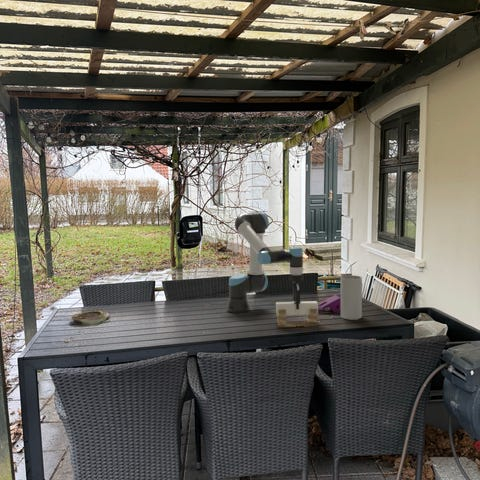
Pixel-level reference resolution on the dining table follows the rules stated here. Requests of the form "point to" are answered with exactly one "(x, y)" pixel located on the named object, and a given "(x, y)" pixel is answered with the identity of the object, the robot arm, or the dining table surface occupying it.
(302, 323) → the rack
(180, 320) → the dining table surface
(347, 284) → the cylinder vase
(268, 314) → the dining table surface
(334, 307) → the mounting bracket
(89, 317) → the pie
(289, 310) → the bar
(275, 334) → the dining table surface
